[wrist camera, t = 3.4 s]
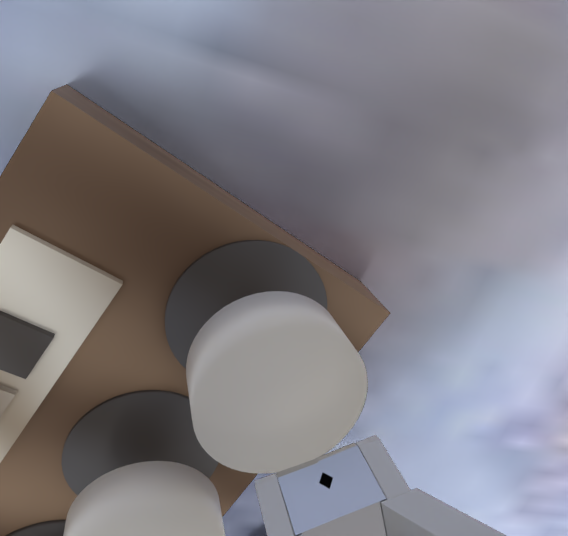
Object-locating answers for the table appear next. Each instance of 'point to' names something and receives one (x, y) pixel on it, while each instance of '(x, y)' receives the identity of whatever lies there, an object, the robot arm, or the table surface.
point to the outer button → (273, 383)
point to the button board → (123, 305)
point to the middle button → (147, 503)
